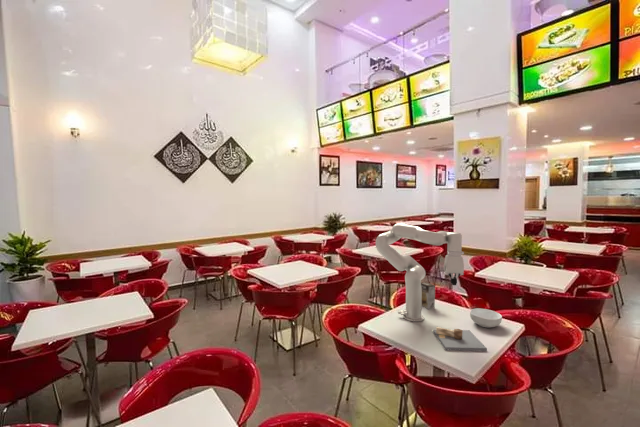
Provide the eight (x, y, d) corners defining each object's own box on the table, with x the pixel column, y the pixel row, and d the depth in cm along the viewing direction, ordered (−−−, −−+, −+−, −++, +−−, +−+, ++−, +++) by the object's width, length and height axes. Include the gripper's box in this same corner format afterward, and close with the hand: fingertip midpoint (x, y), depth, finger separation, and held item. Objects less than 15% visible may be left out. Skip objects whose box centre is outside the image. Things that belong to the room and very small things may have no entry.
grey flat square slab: (445, 350, 152) (445, 347, 152) (433, 332, 172) (433, 329, 172) (486, 351, 151) (486, 347, 151) (469, 332, 171) (469, 330, 171)
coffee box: (418, 305, 214) (418, 282, 213) (425, 303, 217) (425, 281, 216) (427, 309, 206) (428, 286, 205) (435, 307, 208) (435, 284, 207)
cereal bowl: (494, 334, 169) (495, 321, 169) (464, 324, 182) (465, 312, 181) (506, 325, 180) (506, 313, 179) (477, 316, 193) (477, 306, 192)
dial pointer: (462, 337, 162) (462, 329, 162) (461, 340, 158) (461, 332, 158) (437, 331, 169) (437, 324, 168) (435, 334, 165) (435, 327, 165)
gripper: (464, 252, 180) (464, 282, 181) (439, 252, 181) (438, 282, 182) (470, 254, 172) (469, 286, 173) (443, 254, 173) (442, 286, 174)
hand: (453, 284), depth 178 cm, fingers closed
